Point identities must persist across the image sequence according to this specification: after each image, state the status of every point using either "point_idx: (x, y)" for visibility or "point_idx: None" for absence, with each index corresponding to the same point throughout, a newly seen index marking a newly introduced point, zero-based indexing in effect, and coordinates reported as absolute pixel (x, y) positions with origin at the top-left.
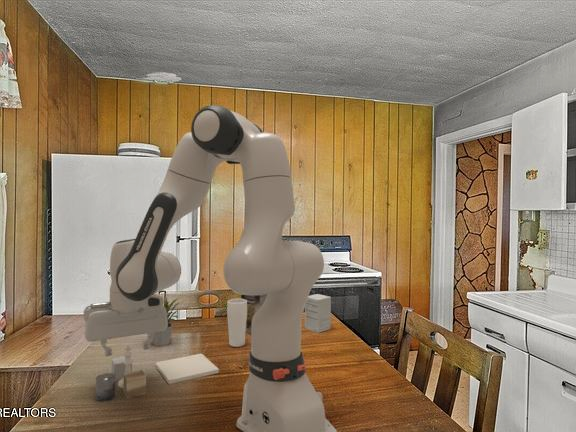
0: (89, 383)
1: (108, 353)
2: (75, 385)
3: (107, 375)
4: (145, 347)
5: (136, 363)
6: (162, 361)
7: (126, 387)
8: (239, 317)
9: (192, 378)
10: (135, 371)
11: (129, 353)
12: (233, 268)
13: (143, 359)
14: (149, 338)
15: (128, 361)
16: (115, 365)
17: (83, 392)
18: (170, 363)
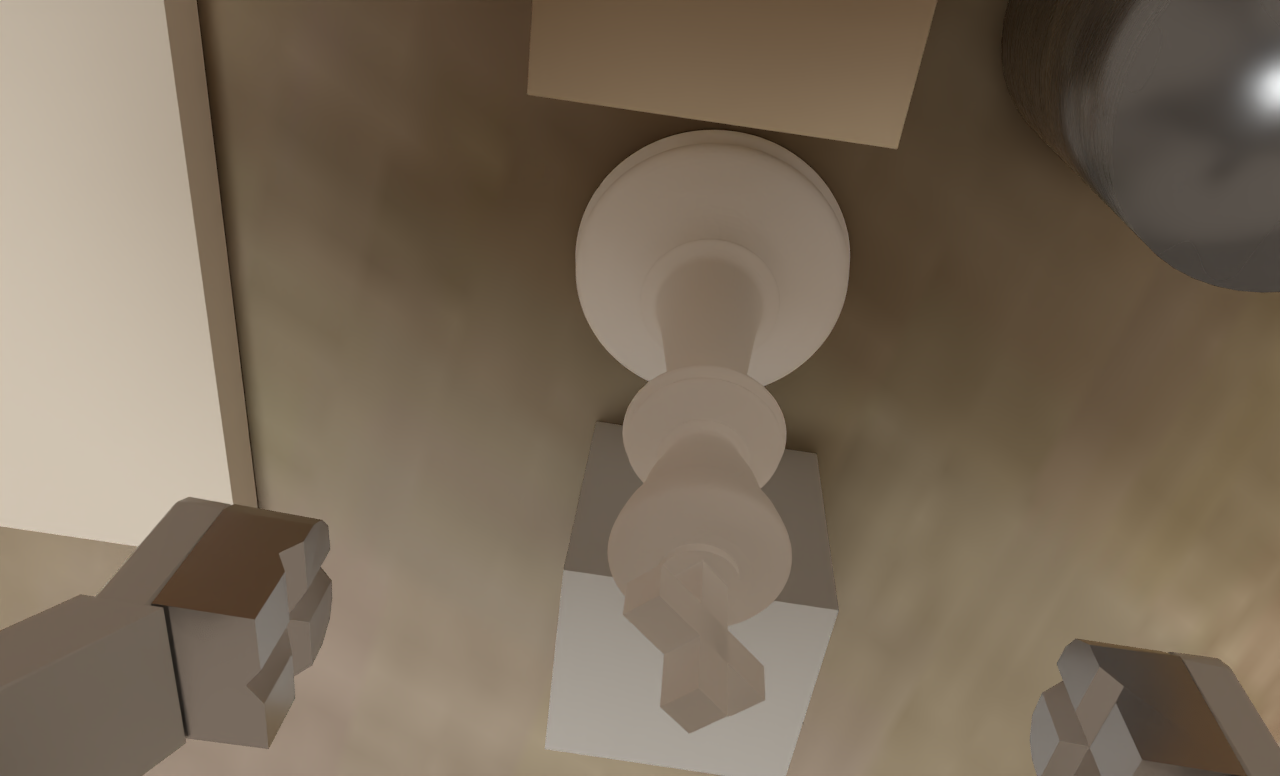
0: (1074, 555)
1: (1180, 684)
2: (1214, 598)
3: (1259, 162)
4: (265, 536)
5: (446, 702)
6: None
7: None
8: None
9: None
10: (667, 100)
11: (685, 521)
12: None
13: (354, 742)
14: (20, 712)
15: (710, 421)
16: (819, 593)
17: (1267, 373)
18: (51, 426)
